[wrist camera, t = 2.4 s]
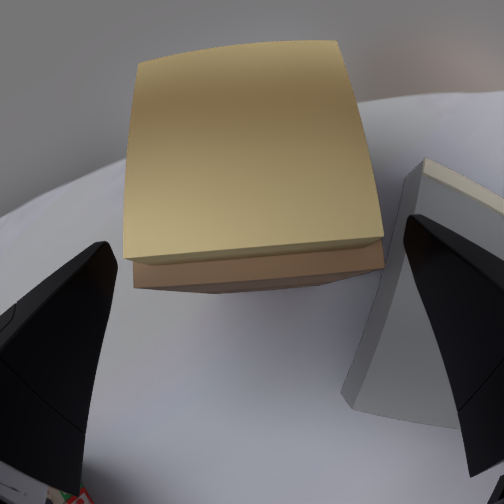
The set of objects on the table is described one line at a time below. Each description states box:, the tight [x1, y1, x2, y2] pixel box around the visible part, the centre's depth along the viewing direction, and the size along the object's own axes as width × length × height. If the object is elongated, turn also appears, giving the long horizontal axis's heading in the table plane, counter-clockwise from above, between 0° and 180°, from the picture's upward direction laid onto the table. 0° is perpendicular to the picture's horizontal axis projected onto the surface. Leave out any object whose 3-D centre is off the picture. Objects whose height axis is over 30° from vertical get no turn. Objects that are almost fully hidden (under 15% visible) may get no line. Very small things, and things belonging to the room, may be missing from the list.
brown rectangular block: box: [123, 40, 385, 294], centre depth 12 cm, size 6×6×12 cm
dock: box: [340, 158, 504, 429], centre depth 15 cm, size 14×12×3 cm
